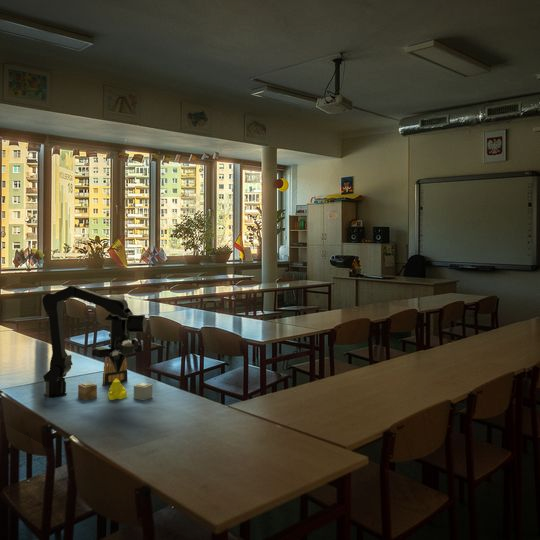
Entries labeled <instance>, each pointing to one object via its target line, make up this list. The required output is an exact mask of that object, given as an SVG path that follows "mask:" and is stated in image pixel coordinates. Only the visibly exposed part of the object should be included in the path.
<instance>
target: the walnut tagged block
mask: <svg viewBox="0 0 540 540" xmlns="http://www.w3.org/2000/svg"><path fill="white" fill-rule="evenodd" d="M77 389H78V390H77V391H78V393H77V398H79V399H80V400H84V401H88V400H92V399H97V398H98V385H97V384H95V383H93V382H85V383H79V384H78V386H77Z"/></svg>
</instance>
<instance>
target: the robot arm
mask: <svg viewBox="0 0 540 540" xmlns="http://www.w3.org/2000/svg"><path fill="white" fill-rule="evenodd" d="M72 297H73V298H76V299H80V300H82V301H85V302H87V303H90V304H93V305H96V306H99V307H101V308H102V309H104V310H105V311H106V312H108V313H109V314H108V315H107V317H105V318H104V320H105V321H110V332H109V333H108V337H109V339H110V340H109V341H110V344H108V346H107V347H108V348H107V347H104V346H98V347H93V349H92V351H91V352H92V353H91V356H93V357H96V358H99V359H101V358H105V357H107V358H108V359H109V358H110V360H111V365H112V364H113V366H114V368H115V371H116V372H119V371H120V369H121V366H122V363H123V361H124V359H125V358H126V359H127V357H128V356H130V354H134V352H135V353H140V352H143V345H142V343H141V344H140V343H139V340H138V339H132V340H131V339H129V335H128V334H127V331H128V332H129V333H144V334H145V333H146V331H147V326H148V324H147V319H146V315H145V314H134V313H133V312H132V310H131V309H130V308H129V304H128V302H127V300H126V299H124V298H120V297H114V296H107V295H103V294H100V293H98V292H95V291H92V290H89V289H86V288H83V287H80V286H78V285H76V284H73V285H69V286H67V287H66V288H63V289H61V290H58V291H55V292H50V293H46V294H45V295H44V296H43V297H42V300H41V301H42V306H43V310H44V312H45V313H46V315H47V317H48V322H49V323H48V324H49V334H50V344H51V353H52V354H51V358H50V362H49V370H48V371H47V372H46V373H45V374H44V375H43V376H42V379H43V381H44V382H45V392H43V395H44V396H46V397H48V398H50V399H51V398H52V399H53V398H56V397H61V396H67V381H66V378H65V377H66V376H67V374H68V372H70V371H71V369H72V366H73V361H72V354H68V353H67V351H66V345H65V337H64V327H63V326H64V325H63V318H62V315H63V314H62V313H63V311H64V307H65V301H67V300H69V299H71V298H72Z"/></svg>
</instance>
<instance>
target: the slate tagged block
mask: <svg viewBox="0 0 540 540" xmlns="http://www.w3.org/2000/svg"><path fill="white" fill-rule="evenodd" d="M150 398H153V384H152V383H146V382H140V383H138V384H135V385H133V399H135V400H140V401H146V400H149V399H150Z"/></svg>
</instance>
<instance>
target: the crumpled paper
mask: <svg viewBox="0 0 540 540" xmlns="http://www.w3.org/2000/svg"><path fill="white" fill-rule="evenodd" d="M108 390H109V391H108V392H107V397H108V400H110V401H113V400H117V399H118V400H123V399H125V398H127V397H128V390H126V388H125V387H124V386H123V383H120V381H119V380H118V379H117V378H116V379H115V380H114V381H113V383H112V385H109V389H108Z"/></svg>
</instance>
